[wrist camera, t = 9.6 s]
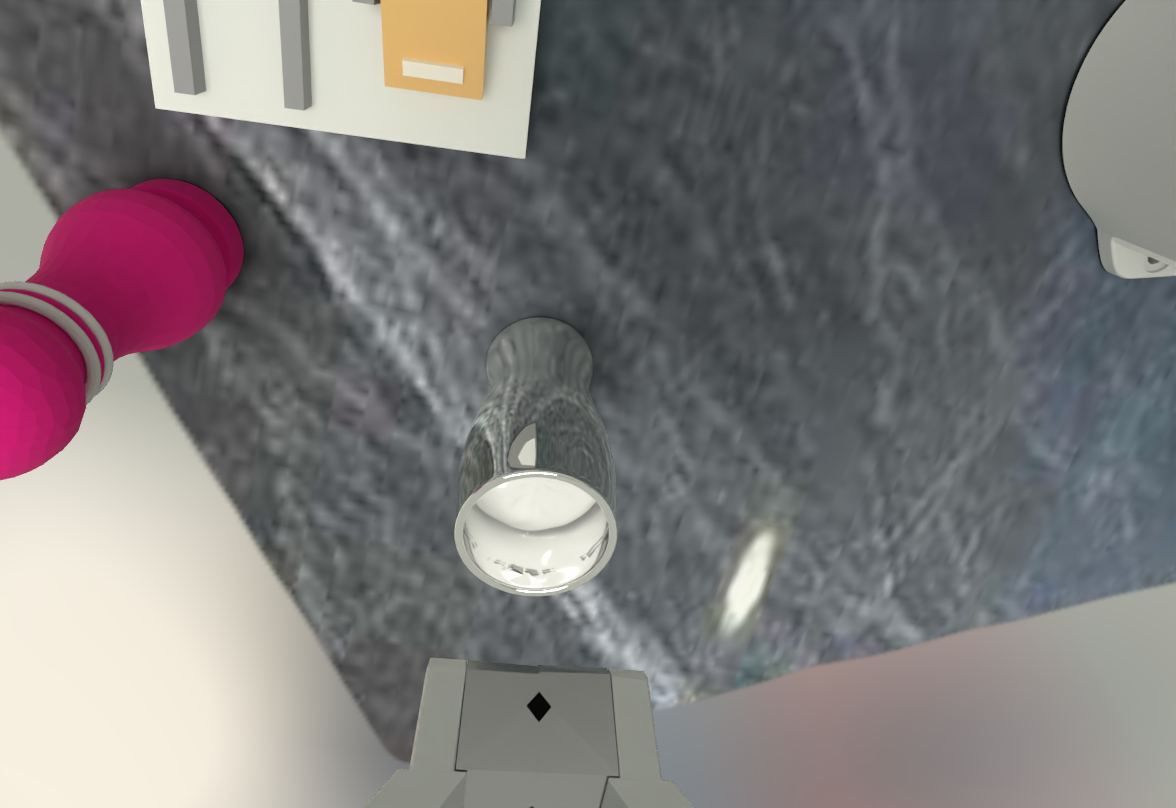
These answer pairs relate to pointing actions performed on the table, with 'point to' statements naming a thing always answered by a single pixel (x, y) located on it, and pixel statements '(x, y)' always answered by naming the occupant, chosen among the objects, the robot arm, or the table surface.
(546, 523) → the beer glass
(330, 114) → the console
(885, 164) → the table surface
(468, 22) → the amber rocker
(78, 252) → the pepper mill
